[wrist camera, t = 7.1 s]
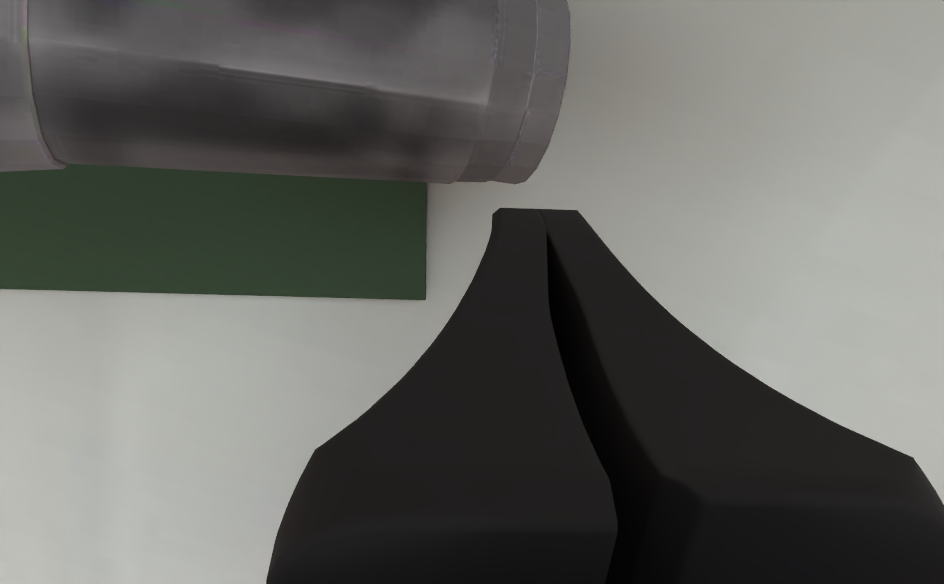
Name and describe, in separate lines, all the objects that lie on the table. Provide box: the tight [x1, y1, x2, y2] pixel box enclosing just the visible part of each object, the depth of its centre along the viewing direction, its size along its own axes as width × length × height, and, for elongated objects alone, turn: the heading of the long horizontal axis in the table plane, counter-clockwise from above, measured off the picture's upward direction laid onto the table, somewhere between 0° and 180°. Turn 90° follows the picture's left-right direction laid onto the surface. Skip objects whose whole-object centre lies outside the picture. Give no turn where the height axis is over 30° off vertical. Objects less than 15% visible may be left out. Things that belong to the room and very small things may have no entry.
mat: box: [0, 164, 427, 300], centre depth 19 cm, size 15×18×1 cm
